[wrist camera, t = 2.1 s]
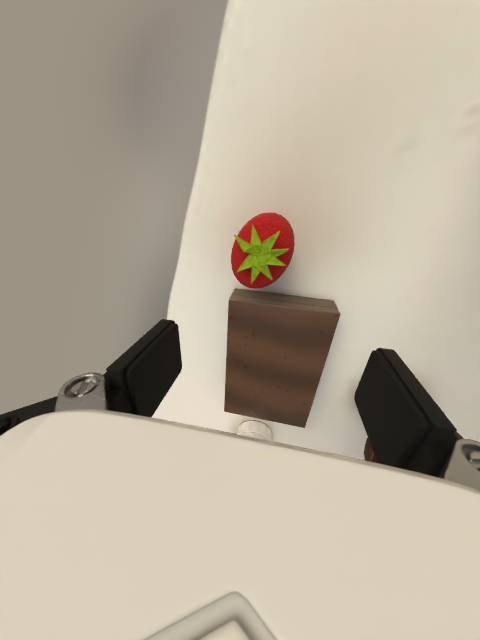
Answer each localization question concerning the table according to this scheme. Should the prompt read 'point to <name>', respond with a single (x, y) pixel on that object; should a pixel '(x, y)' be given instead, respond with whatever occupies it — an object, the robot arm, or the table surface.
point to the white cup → (255, 430)
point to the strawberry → (262, 250)
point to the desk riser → (276, 354)
